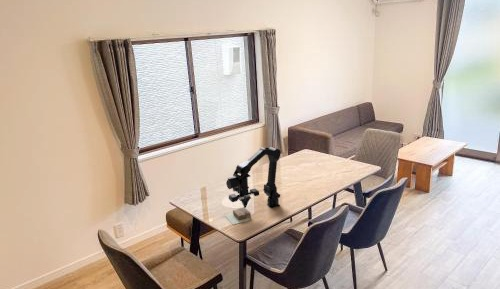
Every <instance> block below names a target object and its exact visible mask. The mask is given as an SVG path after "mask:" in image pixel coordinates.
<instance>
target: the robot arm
mask: <svg viewBox="0 0 500 289" xmlns="http://www.w3.org/2000/svg"><path fill="white" fill-rule="evenodd" d="M281 153H282V152H281V150H280V149H279V148H277V147H273V146H270V147H262V146H261V147H260V148H259V149H258V150H257V151H256V152H255V153H253V155H251V156H250V157H249V158H248V159H246V160H245V161H242V162H240V163H239V164H237V165H236V167H235V170H234V172H233V174H232V176H231V177H227V180H226V187H227V189H228V190H232V192H236V193H237V194H235V193H232V194H229V195H228V200H229V201H230V202H231V203H235V202H238V201H240V202H241V204H242V206H243V207H244V208H246V209H247V205H248V204H249V201H250V200H251V199H252V197H251V195H253V196H254V197H257V196H260V191H259V190H258V189H256V188H251V189H249V188H250V187H249V182H248V178H250V177H251V174H249V173H250V171H251V170H252V167H253V166H255V165H256V164H257V163H258V162H259V161H260V160H261V159H262V158H263V157H265V155H266V156H267V157H268V161H269V162H268V171H267V172H268V175H267V182H266V184H263V189H262V190H263V192H264V194H265V196H266V197H267V199H266V200H267V203H266V205H267V206H268V207H270V209H273V208H277V207H280V206H281V205H280V203H279V199H280V198H281V194H280V193H279V192H278V187H277V185H276V177H277V176H276V175H277V166H278V161H279V160H280V158H281Z"/></svg>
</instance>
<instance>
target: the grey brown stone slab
mask: <svg viewBox="0 0 500 289" xmlns="http://www.w3.org/2000/svg"><path fill="white" fill-rule="evenodd" d="M232 213H233V215H234V216H235V217H236V218H237V219H238V220H243V219H246V218H250V219H251V217H252V216H251V215H252V214H251V212H250V210H248V209H247V207H246V208H244V206H243V207H240V208H237V209H233V210H232Z"/></svg>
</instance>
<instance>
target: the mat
mask: <svg viewBox="0 0 500 289" xmlns="http://www.w3.org/2000/svg"><path fill="white" fill-rule="evenodd" d="M224 217H225V218H226V220H228V221H229V223H230V224H232V226H235V225H237V224H242V223H245V222H249V221H251V220H252V219H251V217H250V218H246V219H243V220H238V219H237V218H236V217H235V216H234V215H233V212H231V213H228V214H224Z"/></svg>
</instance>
